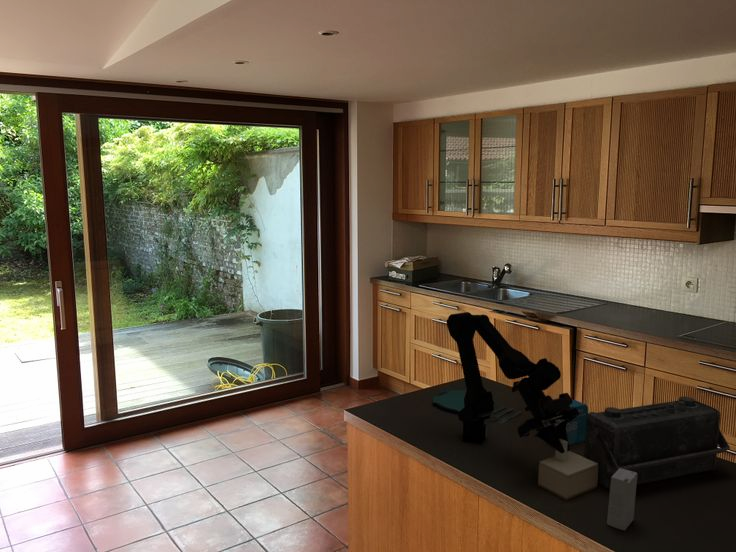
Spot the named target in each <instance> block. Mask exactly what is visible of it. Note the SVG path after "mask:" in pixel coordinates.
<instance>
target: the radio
mask: <svg viewBox="0 0 736 552" xmlns="http://www.w3.org/2000/svg"><path fill="white" fill-rule="evenodd" d="M720 425H721V411H720V410H718V409H717V408H715V407H713V406H710V405H707V404H705V403H702V402H701V401H698V400H696V399H695V398H693V397H691V396H679V397H678V400H672V401H665V402H660V403H659V402H658V403H652V404H646V405H639V406H632V407H627V408H626V407H625V408H619V407H618V408H617V407H613V406H611V407H610V406H608V407H605V408H604V411H599V412H598V411H597V412H594V411H590V412H588V415H587V417H586V431H585V441H584V450H583V451H584V452H583V453H584V454H583V457H584V458H586V459H589V460H591V461H593V462H595V463H598V481H597V484H599V485H601V486H602V487H604V488H605V489H607V490H609V491H610V485H611V477H612V476H613V475H614V474H615V473H616V472H617V470H618V469H619V468H621V469H625V470H629V471H632V472H636V473H637V485H636V486H638V485H642V484H647V483H653V482H657V481H663V480H667V479H671V478H677V477H678V478H679V477H681V476H687V475H692V474H697V473H698V474H699V473H702V472H706V471H708V472H713V471H714V470H715V468H716V467H717V458H718V457H717V456H718V454H722V453H724V452H726V451H729V450H730V449H731V447H730V445H729V443H728V442H727V440H726V437H725V436H724V434H723V433H722V431H721V429H720ZM718 447H719V448H718Z"/></svg>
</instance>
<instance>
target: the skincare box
mask: <svg viewBox="0 0 736 552" xmlns="http://www.w3.org/2000/svg"><path fill="white" fill-rule="evenodd" d="M637 486H638V485H637V473H636V472H632V471H629V470H625V469H621V468H619V469H618V470H617V472H616V473H615V474H614V475H613V476H612V477H611V485H610V490H609V494H608V495H609V496H608V507H607V509H608V510H607V520H606V524H607V525H608V526H611V527H612V528H616V529H618V530H622V531H626V530H627V529H628V528H629V526H630V524H631V523H632V522H633V521H634V517H635V506H636V504H635V503H636V495H637Z"/></svg>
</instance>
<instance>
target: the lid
mask: <svg viewBox="0 0 736 552" xmlns="http://www.w3.org/2000/svg"><path fill="white" fill-rule="evenodd" d="M559 440H560V442H561V444H562V446H563V448H564V451H565V452H564V453H560V452H559V451H557V450H556V449H555V455H554V456H551V457H548V458H545V459H542V460H540V461H539V464H542V465H544V466H546V467H548V468H550V469H552V470H554V471H556V472H558V473H560V474H562V475H564V476H566V477H570V476H573V475H576V474H578V473H581V472H583V471H586V470H589V469H591V468H594V467H596V466H598V463H595V462H593V461H591V460H589V459H586V458H584V456H582V455H580V454H577V453H575V452H573V451H570V450H569V451H568V452H567V447H568V442H567V441H565V440H563V439H559Z"/></svg>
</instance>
